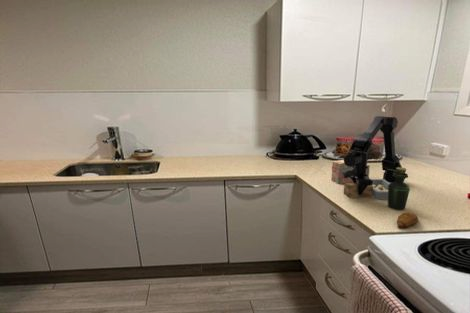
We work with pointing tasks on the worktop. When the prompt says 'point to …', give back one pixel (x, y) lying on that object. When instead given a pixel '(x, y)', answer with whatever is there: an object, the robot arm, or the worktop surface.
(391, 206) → the potion bottle
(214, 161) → the worktop surface
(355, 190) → the board
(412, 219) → the croissant
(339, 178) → the stack of blocks
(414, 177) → the worktop surface
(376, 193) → the frame
